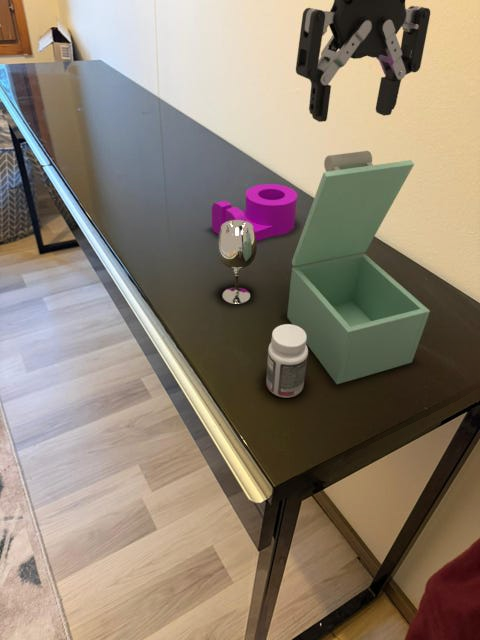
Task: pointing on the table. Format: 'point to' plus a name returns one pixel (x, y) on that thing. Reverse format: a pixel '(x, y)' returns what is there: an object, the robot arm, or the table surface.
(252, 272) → the table surface
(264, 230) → the tape dispenser
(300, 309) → the bin
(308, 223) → the bin lid
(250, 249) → the wineglass
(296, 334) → the pill bottle
